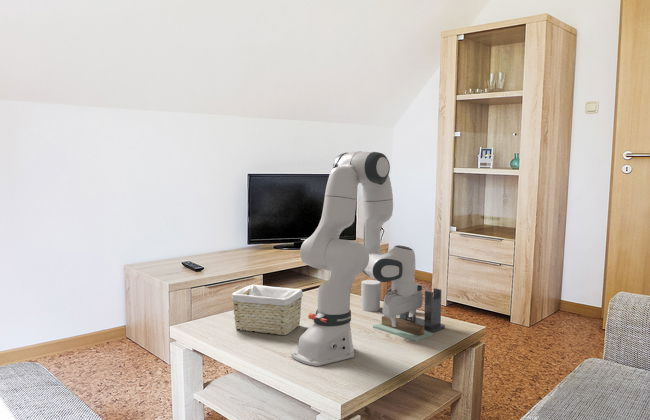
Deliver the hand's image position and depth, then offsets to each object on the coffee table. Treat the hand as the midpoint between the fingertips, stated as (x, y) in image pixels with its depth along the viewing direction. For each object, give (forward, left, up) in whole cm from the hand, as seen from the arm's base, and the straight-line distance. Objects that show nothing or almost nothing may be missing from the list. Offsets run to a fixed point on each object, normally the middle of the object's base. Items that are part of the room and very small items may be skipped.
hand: (402, 323), depth 204 cm
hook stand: (+11, 0, -3) cm, 11 cm away
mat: (0, 0, -3) cm, 3 cm away
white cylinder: (+13, +28, -3) cm, 31 cm away
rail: (0, 0, -2) cm, 2 cm away
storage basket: (-35, +39, -4) cm, 52 cm away
